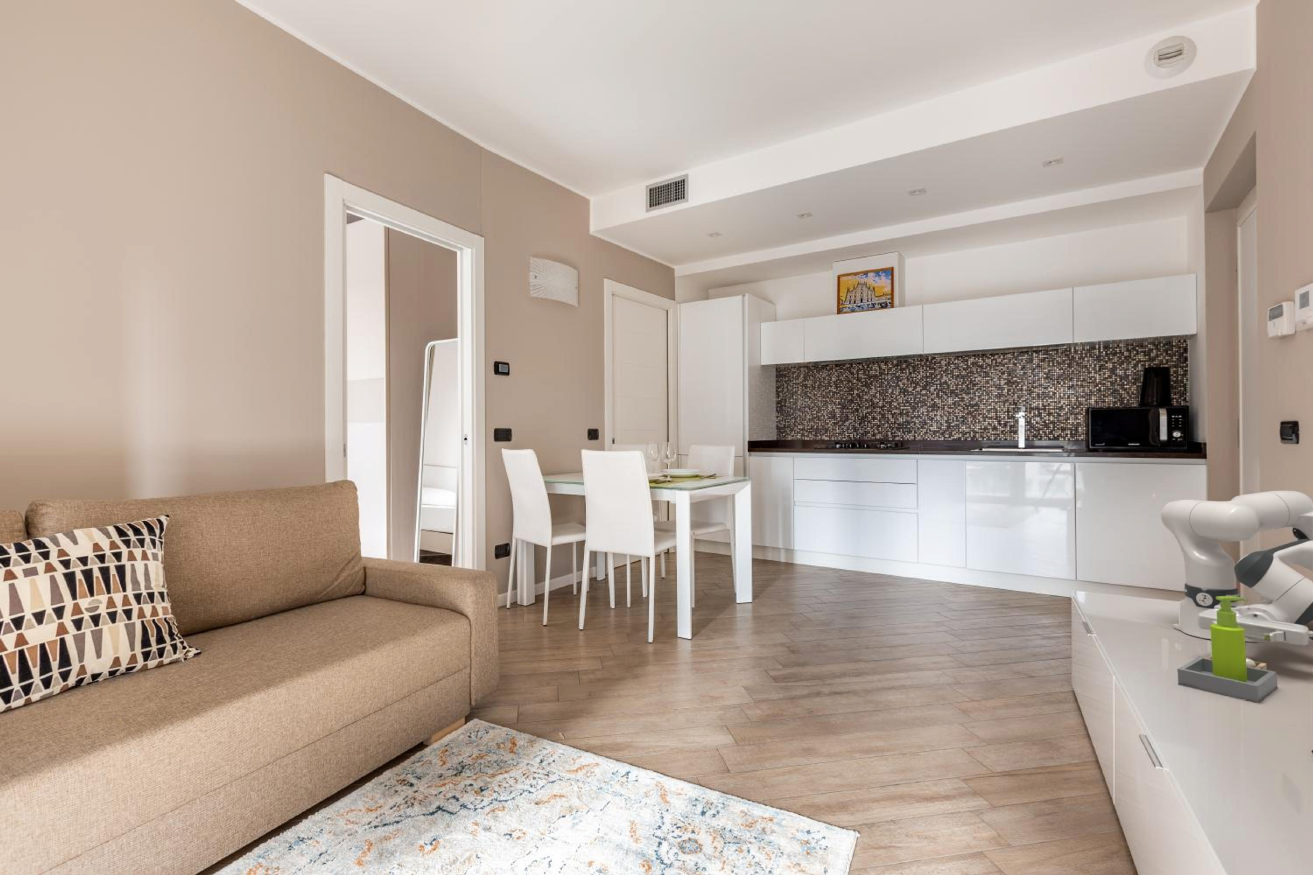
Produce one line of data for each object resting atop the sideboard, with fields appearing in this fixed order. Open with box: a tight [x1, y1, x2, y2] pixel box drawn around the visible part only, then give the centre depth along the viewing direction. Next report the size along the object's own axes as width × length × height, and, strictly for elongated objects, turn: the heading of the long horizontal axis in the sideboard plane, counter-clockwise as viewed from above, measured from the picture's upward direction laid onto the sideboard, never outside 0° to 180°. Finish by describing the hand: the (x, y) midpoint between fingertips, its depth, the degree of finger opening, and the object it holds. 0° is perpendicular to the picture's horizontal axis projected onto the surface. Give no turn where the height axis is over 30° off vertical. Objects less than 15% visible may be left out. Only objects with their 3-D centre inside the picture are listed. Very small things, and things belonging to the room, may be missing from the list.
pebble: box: [1246, 657, 1256, 668], centre depth 154 cm, size 3×3×3 cm
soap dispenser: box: [1210, 596, 1249, 682], centre depth 146 cm, size 6×7×20 cm
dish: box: [1177, 656, 1278, 704], centre depth 146 cm, size 14×14×4 cm
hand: (1241, 633), depth 153 cm, fingers open, 8 cm apart
